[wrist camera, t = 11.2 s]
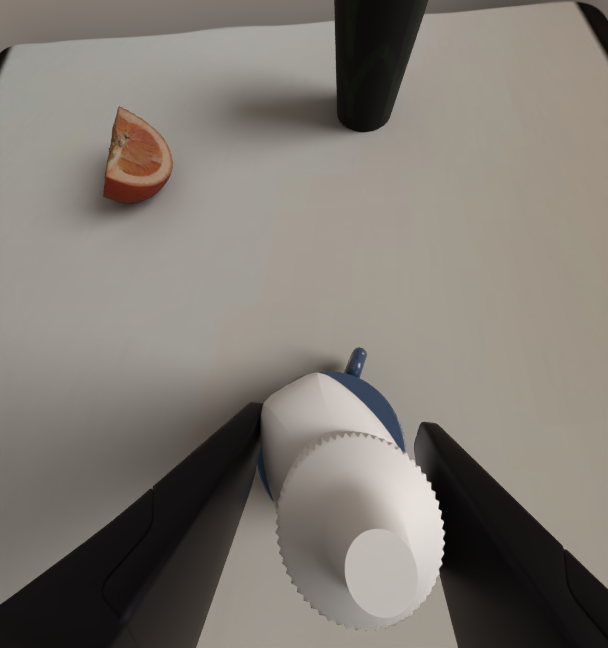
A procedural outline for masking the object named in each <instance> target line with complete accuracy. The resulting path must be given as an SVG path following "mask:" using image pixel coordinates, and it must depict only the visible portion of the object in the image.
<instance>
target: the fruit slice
mask: <svg viewBox="0 0 608 648" xmlns="http://www.w3.org/2000/svg"><path fill="white" fill-rule="evenodd" d="M172 168H173V161H172V156H171V153H170V149H169V147H168V145H167V143H166V141H165V140H164V138H163V137H162V136H161V134H160V133H158V132H157V131H156V130H155V129H154V128H153V127H152V126H150V125H149V124H148V123H147V122H145V121H144V120H143V119H141V118H139V117H138V116H136V115H135V114H133V113H131V112H129V111H128V110H126V109H123V108H122V107H120V106H119V108H118V110H117V115H116V119H115V123H114V125H113V128H112V139H111V145H110V148H109V156H108V161H107V168H106V173H105V185H104V193H103V197H105V198H108V199H110V200H114V201H117V202H126V203H134V202H139V201H143V200H146V199H148V198H150V197H151V196H153V195H154V194H156V193H157V192H158V191H159V190H160V189H161V188H162V187H163V186H164V185H165V183H166V182H167V180H168V179H169V177H170V175H171V172H172Z"/></svg>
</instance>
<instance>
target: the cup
mask: <svg viewBox="0 0 608 648" xmlns="http://www.w3.org/2000/svg"><path fill="white" fill-rule="evenodd" d="M427 3H428V0H334V5H335V44H336V84H337V114H338V118H339V120H340V122H341V123H342V124H343V125H344V126H346V127H347V128H349V129H352V130H355V131H360V132H367V131H373V130H376V129H379V128H380V127H382V126H384V125H385V124H386V123H387V121H388V120H389V118H390V115H391V112H392V109H393V106H394V103H395V100H396V97H397V94H398V91H399V88H400V85H401V82H402V79H403V76H404V73H405V70H406V67H407V64H408V61H409V58H410V55H411V52H412V49H413V46H414V43H415V40H416V36H417V33H418V30H419V27H420V24H421V21H422V18H423V15H424V12H425V9H426V6H427Z"/></svg>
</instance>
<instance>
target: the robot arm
mask: <svg viewBox="0 0 608 648" xmlns="http://www.w3.org/2000/svg"><path fill="white" fill-rule="evenodd" d="M263 404H264V403H260V402H250V403H249V404H248V405H246V406H245V407H244V408H243V409H242V410H241V411H239V412H238V413H237V414H236V415H235V416H234V417H233V418H231V419H230V420H229V421H228V422H227V423H226V424H224V425H223V426H222V427H221V428H220V429H219V430H218V431H216V432H215V433H214V434H213V435H212V436H211V437H209V438H208V439H207V440H206V441H205V442H204V443H203V444H201V445H200V446H199V447H198V448H197V449H196V450H194V451H193V452H192V453H191V454H190V455H189V456H188V457H186V458H185V459H184V460H183V461H182V462H181V463H179V464H178V465H177V466H176V467H175V468H174V469H173V470H171V471H170V472H169V473H168V474H167V475H166V476H164V477H163V478H162V479H161V480H160V481H159V482H158V483H156V484H155V485H154V486H153V489H149V490H148V491H147V492H146V493H145V494H144V495H142V496H141V497H140V498H139V499H138V500H137V501H135V502H134V503H133V504H132V505H131V506H129V507H128V508H127V509H126V510H125V511H123V512H122V513H121V514H120V515H119V516H117V517H116V518H115V519H114V520H113V521H111V522H110V523H109V524H107V525H106V526H105V527H104V528H102V529H101V530H100V531H98V532H97V533H96V534H94V535H93V536H92V537H91V538H89V539H88V540H87V541H85V542H84V543H83V544H81V545H80V546H79V547H77V548H76V549H75V550H73V551H72V552H71V553H69V554H68V555H67V556H65V557H64V558H63V559H61V560H60V561H59V562H57V563H56V564H55V565H53V566H52V567H50V568H49V569H48V570H46V571H45V572H44V573H42V574H41V575H40V576H38V577H37V578H36V579H34V580H33V581H32V582H30V583H29V584H28V585H26V586H25V587H24V588H22V589H21V590H20V591H18V592H17V593H16V594H14V595H13V596H12V597H10V598H9V599H7V600H6V601H5V602H3V603H2V604H0V648H196V646H197V643H198V640H199V637H200V635H201V632H202V629H203V626H204V623H205V620H206V617H207V614H208V611H209V608H210V606H211V603H212V600H213V597H214V594H215V591H216V588H217V585H218V582H219V579H220V577H221V574H222V571H223V568H224V565H225V562H226V559H227V556H228V553H229V550H230V548H231V545H232V542H233V539H234V536H235V533H236V530H237V527H238V524H239V521H240V518H241V516H242V513H243V510H244V507H245V504H246V501H247V498H248V495H249V492H250V489H251V486H252V483H253V479H254V475H255V471H256V466H257V462H258V458H259V453H260V449H261V438H260V418H261V411H262V407H263ZM414 453H415V460H416V465H417V466H420V468H421V472H422V473H424V474H426V480H427V481H428V482H430V483H431V490H433V491H435V499H436V500H438V501H439V507H438V509H439V510H441V511H442V514H441V520H443V521H444V524H443V527H442V529H443V530H444V532H445V534H444V536H443V540H444V542H445V544H444V546H443V548H442V550H443V552H444V555H443V557H442V558H441V561H442V565H441V567H440V568H439V573H440V578H441V582H442V586H443V590H444V594H445V598H446V602H447V606H448V610H449V614H450V618H451V621H452V625H453V629H454V633H455V637H456V641H457V645H458V648H608V589H607V588H606V587H605V586H604V585H603V584H602V583H601V582H600V581H599V580H598V579H597V578H596V577H595V576H594V575H593V574H591V573H590V572H589V571H588V570H587V569H586V568H585V567H584V566H583V565H582V564H581V563H580V562H579V561H578V560H577V559H576V558H575V557H574V556H573V555H572V554H571V553H570V552H569V551H568V550H565V549H563V546H562V545H561V544H560V543H559V542H558V541H557V540H556V539H555V538H554V537H553V536H552V535H551V534H550V533H549V532H548V531H547V530H546V529H545V528H544V527H543V526H542V525H541V524H540V523H539V522H538V521H537V520H536V519H535V518H534V517H533V516H532V515H531V514H530V513H529V512H527V511H526V510H525V509H524V508H523V507H522V506H521V505H520V504H519V503H518V502H517V501H516V500H515V499H514V498H513V497H512V496H511V495H510V494H509V493H508V492H507V491H506V490H505V489H504V488H503V487H502V486H501V485H500V484H499V483H498V482H497V481H496V480H495V479H494V478H493V477H492V476H491V475H489V474H488V473H487V472H486V471H485V470H484V469H483V468H482V467H481V466H480V465H479V464H478V463H477V462H476V461H475V460H474V459H473V458H472V457H471V456H470V455H469V454H468V453H467V452H466V451H465V450H464V449H463V448H462V447H461V446H460V445H459V444H458V443H457V442H456V441H455V440H454V439H453V438H451V437H450V436H449V435H448V434H447V433H446V432H445V431H444V430H443V429H442V428H441V427H440V426H439V425H438V424H436V423H430V422H422V423H421V424H420V426H419V429H418V433H417V436H416V439H415V443H414Z"/></svg>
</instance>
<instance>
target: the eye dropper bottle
mask: <svg viewBox="0 0 608 648" xmlns="http://www.w3.org/2000/svg"><path fill="white" fill-rule="evenodd" d="M260 438H261V449H262V456H263V463H264V468H265V473H266V478H267V481H268V485H269V489H270V492H271V495H272V498H273V501H274V504H275V507H276V509H277V511H276V513H277V514H278V517H277V520H276V524H277V525H278V528H277V530H276V533H277V535H278V536H279V538H278V541H277V543H278V545H279V546H280V547H281V548H280V552H279V553H280V554H281V555H282V556H283V557H284V558H283V562H282V564H284V565H285V566H286V567H287V572H286V574H288V575H289V576H291V577H292V581H291V583H292V584H294V585H296V586H297V587H298V588H297V592H298V593H300V594H302V595H304V601H307V602H310V603H311V608H313V609H318V612H319V615H326V617H327V619H328V620H335V622H336V624H337V625H340V624H344V625H345V627H346V628H349V627H354V628H355V629H356V630H358V629H361V628H363V629H364V630H365V631H367V630H369V629H371V628H372V629H374V630H377V629H378V628H380V627H382V628H386V627H387V626H389V625H395V624H396V623H397V622H398V621H404V619H405V617H406V616H411V615H412V613H413V610H416V609H419V606H420V603H423V602H425V600H426V596H427V595H428V594H430V593H431V587H432V586H434V585H435V584H436V579H435V578H436V577H437V576H438V575H439V574H440V573H439V568H440V567H441V565H442V561H441V558H442V557H443V555H444V552H443V550H442V548H443V546H444V544H445V542H444V540H443V536H444V534H445V532H444V530H443V529H442V527H443V524H444V521H443V520H441V514H442V511H441V510H439V509H438V507H439V501H438V500H436V499H435V491H433V490H431V483H430V482H428V481H427V480H426V474H424V473H422V472H421V468H420V466H417V465H415V461H414V459H411V458H409V457H408V454H407V453H405V452H402V451H401V448H400V447H398V446H397V444H396V442H395V441H394V439H393V438H392V436H391V435H390V433H389V432H388V431H387V429H386V428H385V427H384V425H383V424H382V423H381V422H380V420H379V419H378V418H377V417H376V416H375V415H374V413H373V412H372V411H371V410H370V409H369V408H368V407H367V406H366V405H365V404H364V403H363V402H362V401H361V400H360V399H359V398H358V397H356V396H355V395H354V394H353V393H352V392H351V391H349V390H348V389H347V388H346V387H344V386H343V385H342V384H340V383H339V382H338V381H336V380H335V379H333V378H331V377H329V376H328V375H325V374H322V373H318V372H317V373H312V374H307V375H305V376H303V377H301V378H299V379H297V380H295V381H294V382H292V383H290V384H288V385H287V386H285V387H283V388H281V389H280V390H278V391H277V392H275V393H274V394H272V395H271V396H270V397H269V398H268V399H267V400H266V401H265V402H264V404H263V407H262V411H261V418H260Z"/></svg>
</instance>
